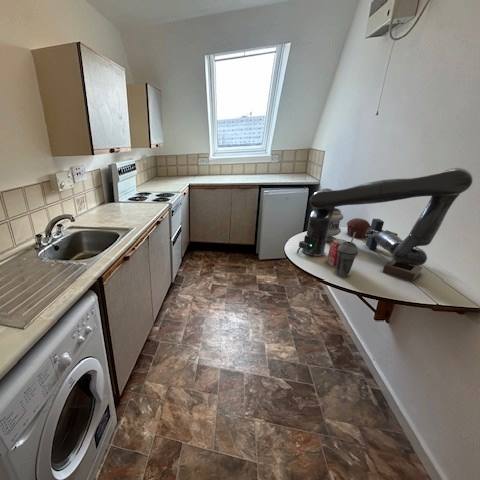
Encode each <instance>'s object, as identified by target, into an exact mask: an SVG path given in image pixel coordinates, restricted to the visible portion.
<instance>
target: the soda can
mask: <svg viewBox="0 0 480 480" xmlns="http://www.w3.org/2000/svg"><path fill="white" fill-rule="evenodd" d="M343 242H348V241H347V240H345V239H341V238H336V239H334V240H333V242H330V245H329V249H328V254H327V261H326V262H327V264H329V266H331V267H335V268H336V265H337V257H338V250H337V249H338V247H339V245H340V244H342V243H343Z"/></svg>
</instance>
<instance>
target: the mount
mask: <svg viewBox="0 0 480 480" xmlns="http://www.w3.org/2000/svg"><path fill="white" fill-rule="evenodd" d="M422 270H423V266H422V265H420V266H414V265H408V264H403V263H398V262H396V261H394V260H393V258H392V259H391V260H389V261H388V262H387V263H386V264H384V266H383V269H382V273H384V274H386V275H390V276H393V277H397V278H401V279H404V280H407V281H410V282H413V281H414V280H416V279H417V277H419V276H420V275H421V272H422Z"/></svg>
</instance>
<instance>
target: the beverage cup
mask: <svg viewBox="0 0 480 480" xmlns="http://www.w3.org/2000/svg"><path fill="white" fill-rule="evenodd" d="M355 233H356V232H354V234H353V237H351V239H350V241H347V242H343V243H342V244H340V245H339V247H338V249H337V250H338V257H337V265H336V267H335V275H336V276H338V277H340V278H347V277H348V276H349V274H350V272H351V269H352V267H353V265H354V261H355V259H356V258H357V255H358V254H359V252H358V251H359V250H358V249H359V248H358V246H357V245H356V243H354V242H353V241H354V239H355V237H354V236H355Z"/></svg>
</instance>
